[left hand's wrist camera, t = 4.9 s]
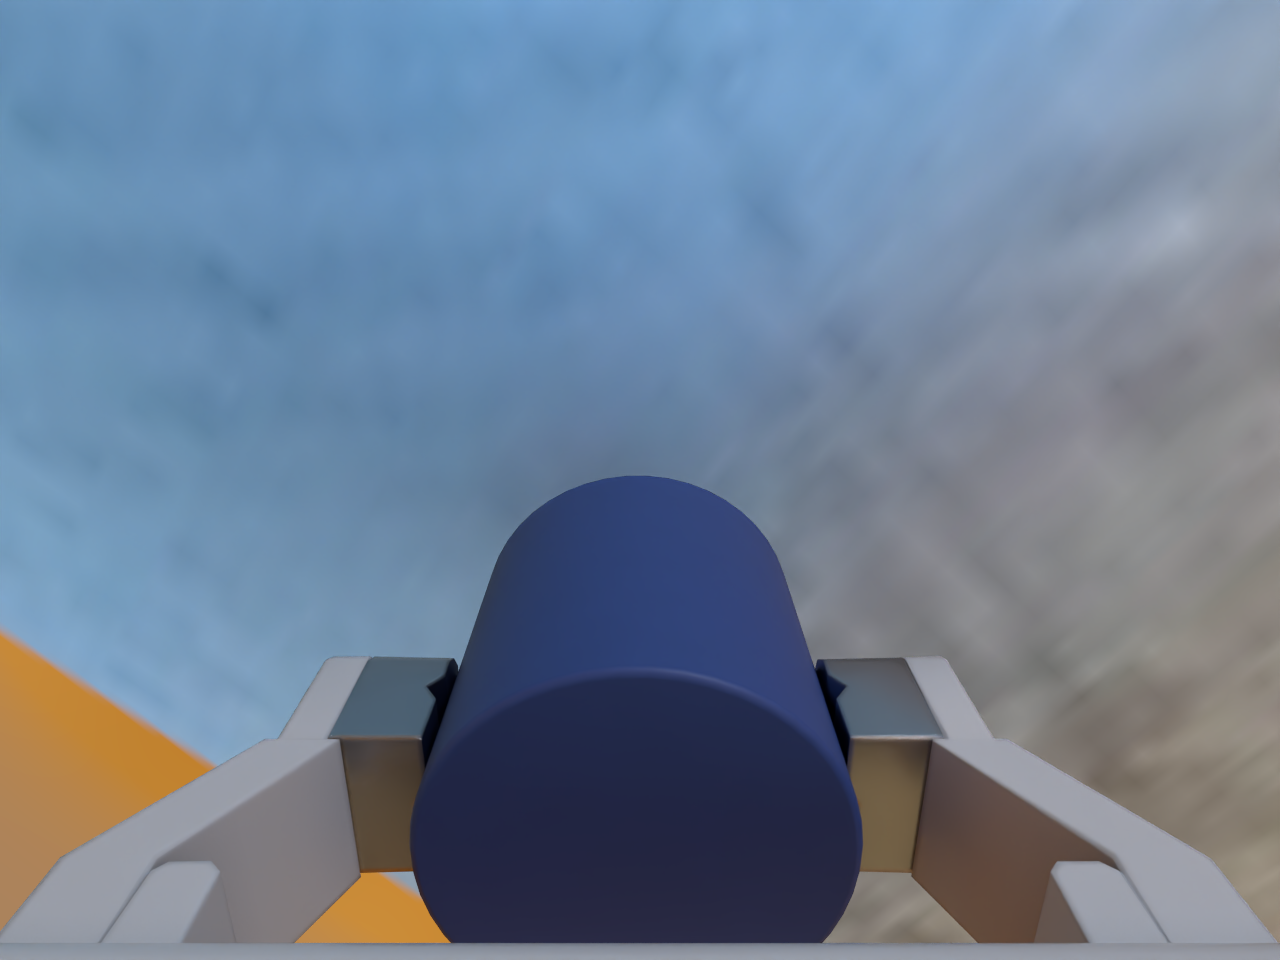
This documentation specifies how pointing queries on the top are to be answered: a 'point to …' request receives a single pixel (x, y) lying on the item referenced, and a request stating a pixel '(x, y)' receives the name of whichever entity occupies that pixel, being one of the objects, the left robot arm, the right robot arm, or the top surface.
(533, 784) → the can
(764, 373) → the top surface
